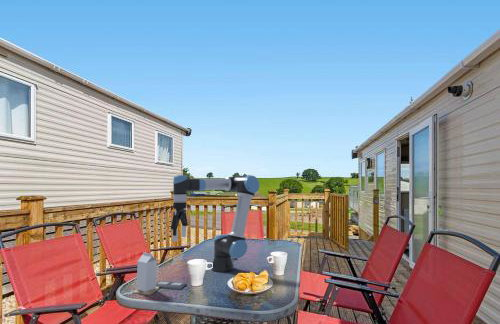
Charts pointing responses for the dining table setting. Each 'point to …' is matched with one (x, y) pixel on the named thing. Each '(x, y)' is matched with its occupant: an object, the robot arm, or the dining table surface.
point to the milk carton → (146, 272)
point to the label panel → (170, 285)
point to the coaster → (145, 292)
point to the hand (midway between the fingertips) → (179, 239)
